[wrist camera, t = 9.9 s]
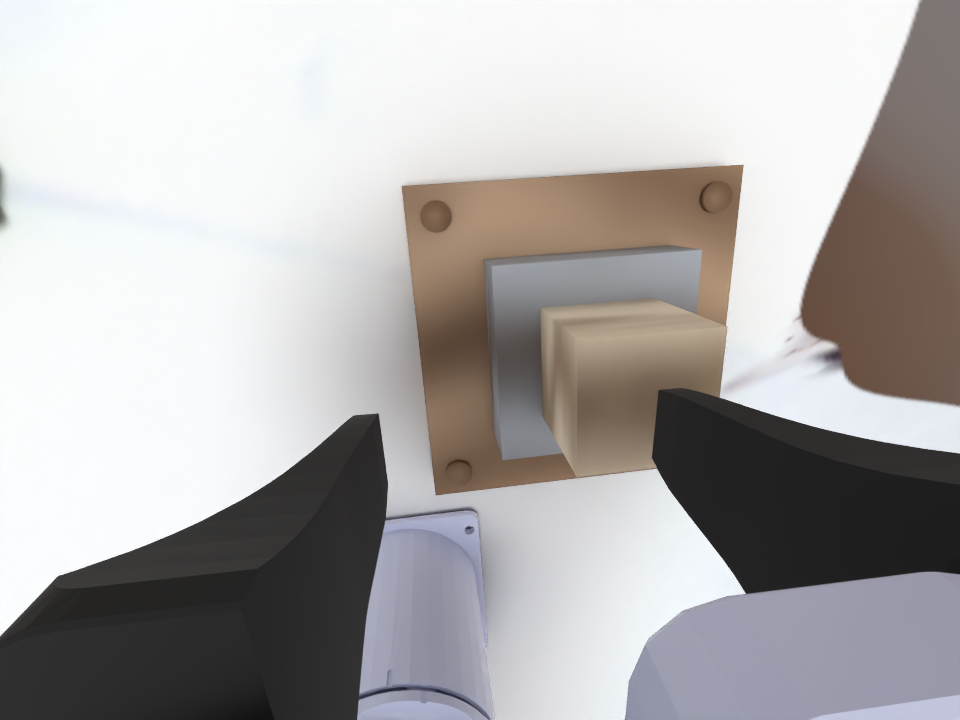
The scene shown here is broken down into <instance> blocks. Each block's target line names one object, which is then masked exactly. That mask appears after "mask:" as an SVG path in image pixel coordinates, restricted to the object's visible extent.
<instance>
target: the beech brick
mask: <svg viewBox="0 0 960 720" xmlns="http://www.w3.org/2000/svg"><path fill="white" fill-rule="evenodd" d="M540 313H541V362H542V412H543V418H544V420H545V422H546V424H547V425H548V427H549V429H550V431H551V432H552V434H553V436H554V438H555V439H556V441H557V443H558V445H559V447H560V448H561V450H562V452H563V454H564V455H565V457H566V459H567V461H568V463H569V464H570V466H571V468H572V470H573V471H574V473H575V475H576V477H584V476H593V475H601V474H610V473H618V472H626V471H635V470H643V469H652V468H657V467H656V465H655V463H654V461H653V459H652V451H653V441H654V431H655V420H656V410H657V400H658V390H662V389H674V388H685V389H690V390H695V391H699V392H702V393H706V394H709V395H712V396H716V397H720V388H721V379H722V370H723V361H724V352H725V344H726V335H727V326H725V325H722V324H720V323H717V322H714V321H712V320H709V319H707V318H704V317H702V316H699V315H697V314H694V313H691V312H689V311H686V310H684V309H681V308H679V307H676V306H673V305H671V304H668V303H666V302H663V301H661V300H658V299H656V298H653V299H641V300H629V301H618V302H606V303H594V304H583V305H571V306H559V307H548V308H540Z"/></svg>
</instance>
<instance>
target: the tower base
mask: <svg viewBox="0 0 960 720" xmlns="http://www.w3.org/2000/svg"><path fill="white" fill-rule="evenodd" d="M742 174H743V165H732V166H716V167H700V168H684V169H668V170H652V171H636V172H620V173H604V174H588V175H572V176H556V177H540V178H524V179H508V180H492V181H476V182H460V183H444V184H428V185H412V186H402V192H403V201H404V210H405V219H406V228H407V237H408V246H409V256H410V265H411V274H412V283H413V292H414V301H415V310H416V319H417V328H418V337H419V346H420V356H421V365H422V374H423V383H424V392H425V401H426V410H427V419H428V428H429V437H430V447H431V456H432V465H433V474H434V483H435V492H436V495H442V494H450V493H458V492H467V491H475V490H483V489H491V488H500V487H508V486H516V485H525V484H533V483H541V482H549V481H558V480H566V479H574V478H582V477H576V475H575V473H574V471H573V470H572V468H571V466H570V464H569V463H568V461H567V459H566V457H565V455H564V454H563V452H562V450H561V448H560V447H559V445H558V443H557V441H556V439H555V438H554V436H553V434H552V432H551V431H550V429H549V427H548V425H547V424H546V422H545V420H544V418H543V412H542V362H541V313H540V308H548V307H559V306H571V305H583V304H594V303H606V302H618V301H629V300H641V299H653V298H656V299H658V300H661V301H663V302H666V303H668V304H671V305H673V306H676V307H679V308H681V309H684V310H686V311H689V312H691V313H694V314H697V315H699V316H702V317H704V318H707V319H709V320H712V321H714V322H717V323H720V324H722V325H725V326H726V319H727V310H728V301H729V292H730V283H731V274H732V265H733V256H734V247H735V237H736V228H737V219H738V210H739V201H740V192H741V183H742ZM652 469H657V468H652ZM643 470H649V469H643ZM635 471H640V470H635ZM626 472H632V471H626ZM618 473H624V472H618ZM610 474H616V473H610ZM601 475H607V474H601ZM593 476H599V475H593ZM584 477H591V476H584Z"/></svg>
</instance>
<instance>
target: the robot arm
mask: <svg viewBox="0 0 960 720" xmlns="http://www.w3.org/2000/svg"><path fill="white" fill-rule="evenodd" d="M652 459H653V461H654V463H655V465H656V467H657V469H658V471H659V473H660V475H661V476H662V478H663V480H664V481H665V483H666V485H667V487H668V488H669V490H670V491H671V493H672V494H673V495H674V497H675V498H676V499H677V501H678V502H679V503H680V504H681V506H682V507H683V508H684V510H685V511H686V512H687V514H688V515H689V516H690V517H691V519H692V520H693V521H694V523H695V524H696V525H697V526H698V528H699V529H700V530H701V532H702V533H703V534H704V535H705V537H706V538H707V539H708V541H709V542H710V543H711V544H712V546H713V547H714V548H715V550H716V551H717V552H718V553H719V555H720V556H721V557H722V558H723V560H724V561H725V563H726V564H727V565H728V567H729V568H730V570H731V571H732V572H733V574H734V575H735V577H736V578H737V580H738V582H739V583H740V585H741V586H742V588H743V590H744V591H745V593H746V594H743V595H734V596H726V597H723V598H720V599H717V600H714V601H711V602H708V603H705V604H702V605H699V606H696V607H693V608H690V609H686V610H683V611H682V612H680V613H679V614H678V615H677V616H676V617H674V618H673V619H672V620H671V621H669V622H668V623H667V624H666V625H665V626H663V627H662V628H661V629H660V630H658V631H657V632H656V633H655V634H653V635H652V636H651V637H650V638H649V639H648V641H647V642H646V644H645V646H644V649H643V651H642V653H641V655H640V658H639V660H638V662H637V664H636V667H635V669H634V671H633V673H632V675H631V678H630V680H629V686H628V696H627V706H626V716H625V720H960V454H959V453H951V452H943V451H936V450H928V449H922V448H916V447H909V446H903V445H897V444H891V443H885V442H880V441H875V440H869V439H864V438H860V437H855V436H851V435H846V434H842V433H837V432H833V431H828V430H824V429H820V428H817V427H813V426H809V425H805V424H802V423H798V422H795V421H791V420H788V419H784V418H781V417H778V416H775V415H771V414H768V413H765V412H762V411H759V410H755V409H752V408H749V407H746V406H743V405H740V404H737V403H734V402H731V401H728V400H725V399H722V398H719V397H716V396H712V395H709V394H706V393H702V392H699V391H695V390H690V389H685V388H674V389H662V390H658V400H657V410H656V420H655V431H654V441H653V451H652ZM387 491H388V480H387V473H386V465H385V458H384V450H383V443H382V435H381V428H380V420H379V414H367V415H356V416H353V417H351V418H350V419H349V420H347V421H346V422H345V423H344V424H343V425H342V426H341V427H339V428H338V429H337V430H336V431H335V432H334V433H333V434H332V435H330V436H329V437H328V438H327V439H326V440H325V441H323V442H322V443H321V444H320V445H319V446H318V447H317V448H315V449H314V450H313V451H312V452H311V453H309V454H308V455H307V456H305V457H304V458H303V459H302V460H300V461H299V462H298V463H296V464H295V465H294V466H293V467H291V468H290V469H289V470H287V471H286V472H285V473H283V474H282V475H281V476H279V477H278V478H276V479H275V480H273V481H272V482H270V483H269V484H267V485H266V486H264V487H262V488H261V489H259V490H258V491H256V492H254V493H253V494H251V495H250V496H248V497H246V498H244V499H243V500H241V501H239V502H237V503H235V504H233V505H231V506H230V507H228V508H226V509H224V510H222V511H220V512H218V513H216V514H214V515H212V516H210V517H209V518H207V519H205V520H203V521H201V522H199V523H197V524H194V525H192V526H190V527H188V528H186V529H183V530H181V531H179V532H177V533H175V534H172V535H170V536H167V537H165V538H163V539H160V540H158V541H155V542H153V543H151V544H148V545H146V546H143V547H140V548H138V549H135V550H133V551H130V552H127V553H125V554H122V555H119V556H116V557H113V558H110V559H107V560H105V561H102V562H99V563H96V564H93V565H90V566H87V567H85V568H82V569H79V570H76V571H73V572H70V573H67V574H64V575H60V576H58V577H57V578H56V579H55V580H54V581H53V582H52V583H51V584H50V585H49V586H48V587H47V588H46V589H45V590H44V591H43V593H42V594H41V595H40V596H39V597H38V598H37V599H36V600H35V601H34V602H33V603H32V604H31V605H30V606H29V607H28V608H27V609H26V610H25V611H24V612H23V613H22V614H21V615H20V616H19V617H18V619H17V620H16V621H15V622H14V623H13V624H12V625H11V626H10V627H9V628H8V629H7V630H6V631H5V632H4V633H3V634H2V635H1V636H0V720H495V718H494V710H493V703H492V696H491V688H490V681H489V674H488V666H487V659H486V652H485V648H486V646H487V643H488V641H487V629H486V616H485V603H484V590H483V577H482V564H481V551H480V538H479V525H478V517H477V514H476V513H475V512H474V511H471V510H466V511H458V512H450V513H442V514H433V515H425V516H417V517H409V518H401V519H393V520H385V519H386V508H387ZM468 526H472V527H473V528H472V529H470V530H467V529H465V528H466V527H468Z"/></svg>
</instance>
